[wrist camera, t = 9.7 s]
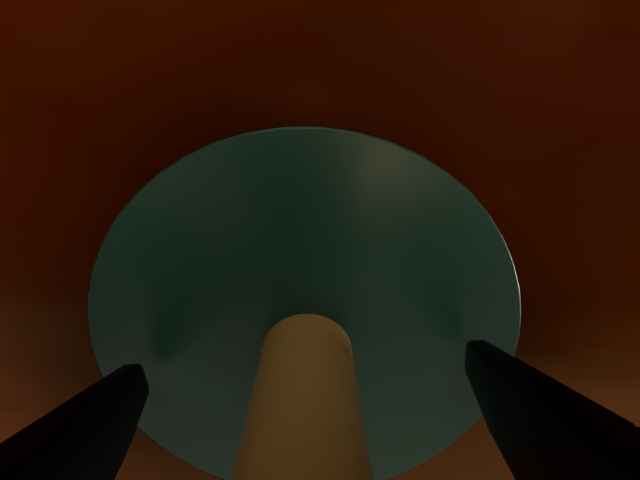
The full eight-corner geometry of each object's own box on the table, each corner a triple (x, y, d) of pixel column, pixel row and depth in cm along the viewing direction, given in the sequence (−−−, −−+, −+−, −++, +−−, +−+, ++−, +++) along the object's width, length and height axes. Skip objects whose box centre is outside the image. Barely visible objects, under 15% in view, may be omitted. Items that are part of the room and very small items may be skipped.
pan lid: (557, 366, 11) (779, 588, 6) (270, 504, 13) (241, 755, 8) (373, 16, 7) (515, -249, 2) (22, 284, 10) (-328, 476, 4)
